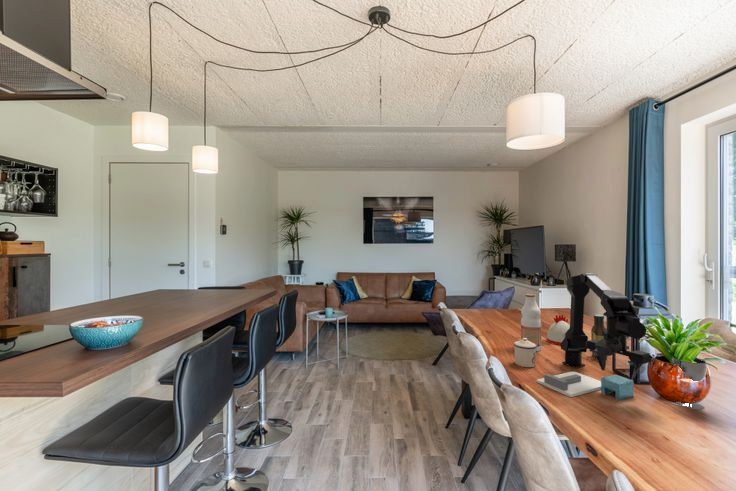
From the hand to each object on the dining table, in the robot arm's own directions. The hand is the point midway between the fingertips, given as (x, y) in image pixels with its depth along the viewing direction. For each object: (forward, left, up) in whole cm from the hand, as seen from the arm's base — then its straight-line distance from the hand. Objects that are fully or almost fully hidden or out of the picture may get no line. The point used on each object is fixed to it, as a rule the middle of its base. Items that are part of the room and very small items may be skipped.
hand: (616, 374), depth 116 cm
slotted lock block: (0, 0, -7) cm, 7 cm away
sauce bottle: (-35, -28, -7) cm, 45 cm away
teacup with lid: (+4, -36, -7) cm, 37 cm away
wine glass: (-14, +14, -7) cm, 21 cm away
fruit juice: (-16, -50, -7) cm, 53 cm away
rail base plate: (+6, -12, -7) cm, 15 cm away
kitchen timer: (-41, -52, -7) cm, 67 cm away
